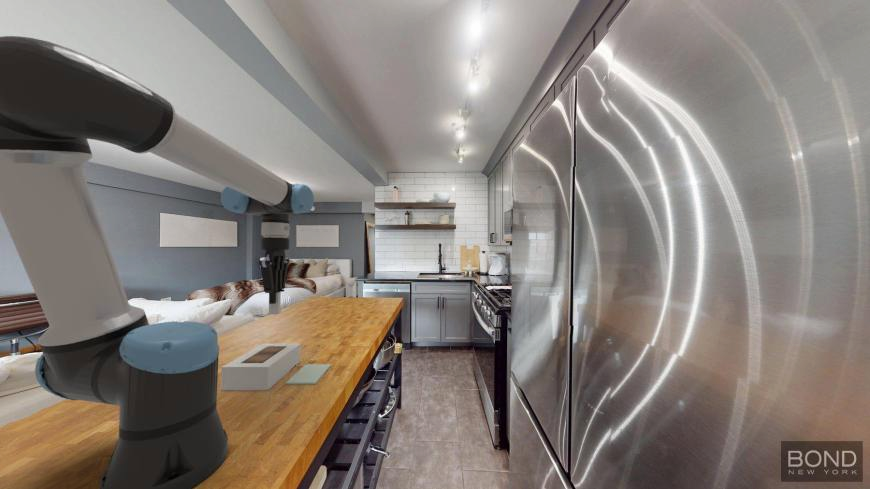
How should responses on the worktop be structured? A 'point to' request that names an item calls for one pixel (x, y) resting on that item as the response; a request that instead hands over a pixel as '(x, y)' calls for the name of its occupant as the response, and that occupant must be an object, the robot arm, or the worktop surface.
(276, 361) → the pocket block
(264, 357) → the walnut bar
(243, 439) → the worktop surface
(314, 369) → the sage mat
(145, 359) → the robot arm
